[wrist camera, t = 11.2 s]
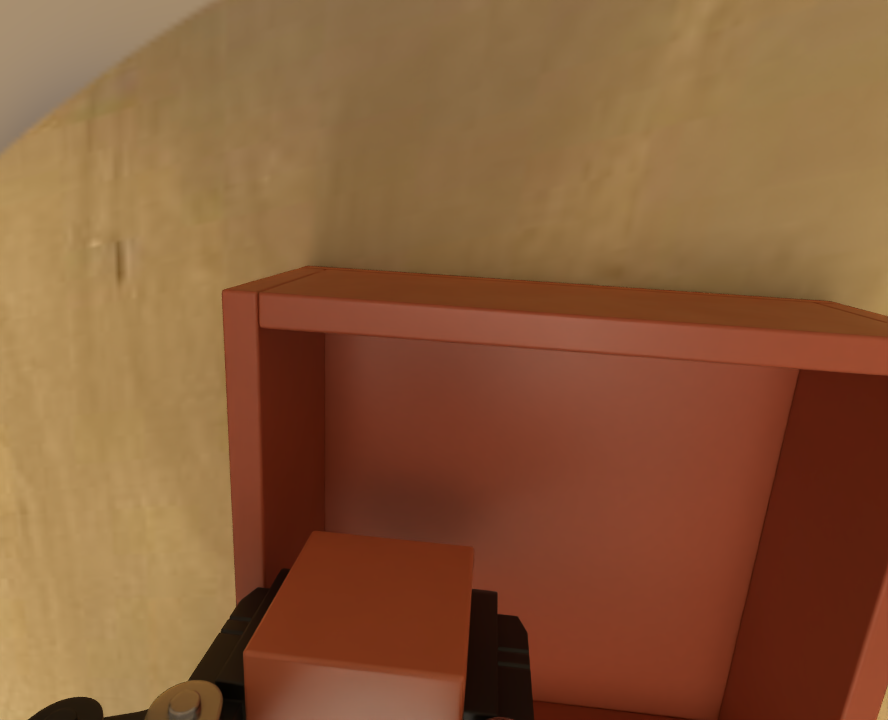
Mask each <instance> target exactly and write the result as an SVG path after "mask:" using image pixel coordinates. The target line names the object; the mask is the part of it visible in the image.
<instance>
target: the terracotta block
mask: <svg viewBox="0 0 888 720" xmlns="http://www.w3.org/2000/svg"><path fill="white" fill-rule="evenodd" d="M473 562H474V549H473V547H471V546H463V545H453V544H443V543H433V542H423V541H414V540H404V539H394V538H384V537H374V536H365V535H355V534H345V533H335V532H325V531H313V532H312V533H311V535H310V537H309V538H308V540H307V542H306V544H305V545H304V547H303V549H302V551H301V552H300V554H299V556H298V557H297V559H296V561H295V563H294V564H293V566H292V568H291V570H290V571H289V573H288V575H287V577H286V578H285V580H284V582H283V584H282V585H281V587H280V589H279V591H278V592H277V594H276V596H275V598H274V599H273V601H272V603H271V605H270V606H269V608H268V610H267V611H266V613H265V615H264V617H263V618H262V620H261V622H260V624H259V625H258V627H257V629H256V631H255V632H254V634H253V636H252V638H251V639H250V641H249V643H248V645H247V646H246V648H245V650H244V652H243V664H244V687H245V709H246V720H463V713H464V701H465V688H466V676H467V659H468V643H469V627H470V611H471V595H472V579H473Z"/></svg>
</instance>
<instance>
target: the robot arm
mask: <svg viewBox="0 0 888 720" xmlns="http://www.w3.org/2000/svg"><path fill="white" fill-rule="evenodd" d="M290 570H291V569H286V568H283V569H281V571H280V572H279V574H278V575H277V577H276V579H275V580H274V582H273V584H272V585H271V587H270V588H261V587H257V588H256V589H255V590H253V591H252V592H251V593H249V594H248V595H247V596H245V597H244V598H243V599H241V600H240V602H239V603H238V605H237V606H236V608H235V609H234V611H233V613H232V614H231V616H230V619H229V620H227V622H226V623H225V625H224V626H223V628H222V629H221V633H219V634H218V635H217V637H216V638H215V640H214V642H213V643H212V645H211V646H210V648H209V649H208V651H207V652H206V654H205V655H204V657H203V658H202V660H201V661H200V663H199V664H198V666H197V668H196V669H195V671H194V672H193V674H192V675H191V677H190V678H189V680H188V681H187V682H183V683H180V684H177V685H175V686H173V687H171V688H169V689H168V690H166V691H165V692H163V693H162V694H161V695H160V696H159V697H157V699H156V700H155V701H154V702H153V703H152V705H151V706H150V708H149V709H147V710H144V711H140V712H135V713H129V714H122V715H116V716H110V717H103V710H102V707H101V705H100V704H99V703H98V702H97V701H96V700H94V699H92V698H87V697H73V698H68V699H64V700H61V701H58V702H56V703H54V704H51V705H49V706H47V707H46V708H44V709H42V710H41V711H39V712H38V713H36V714H35V715H34V716H32V717H31V718H30V719H28V720H246V709H245V687H244V664H243V652H244V650H245V648H246V646H247V645H248V643H249V641H250V639H251V638H252V636H253V634H254V632H255V631H256V629H257V627H258V625H259V624H260V622H261V620H262V618H263V617H264V615H265V613H266V611H267V610H268V608H269V606H270V605H271V603H272V601H273V599H274V598H275V596H276V594H277V592H278V591H279V589H280V587H281V585H282V584H283V582H284V580H285V578H286V577H287V575H288V573H289V571H290ZM463 720H534V709H533V696H532V683H531V670H530V657H529V644H528V633H527V631H526V629H525V627H524V626H523V624H522V622H521V621H520V619H519V617H518V616H512V615H503V614H498V593H497V591H489V590H479V589H472V595H471V611H470V627H469V643H468V659H467V676H466V688H465V701H464V713H463Z"/></svg>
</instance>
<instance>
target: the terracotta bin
mask: <svg viewBox="0 0 888 720" xmlns="http://www.w3.org/2000/svg"><path fill="white" fill-rule="evenodd" d="M222 307H223V328H224V350H225V371H226V393H227V414H228V436H229V457H230V479H231V500H232V522H233V543H234V565H235V586H236V606H237V605H238V603H239V602H240V600H241V599H243V598H244V597H245V596H247V595H248V594H249V593H251V592H252V591H253V590H255V589H256V588H257V587H261V588H270V587H271V585H272V584H273V582H274V580H275V579H276V577H277V575H278V574H279V572H280V571H281V569H283V568H286V569H291V568H292V566H293V564H294V563H295V561H296V559H297V557H298V556H299V554H300V552H301V551H302V549H303V547H304V545H305V544H306V542H307V540H308V538H309V537H310V535H311V533H312V532H313V531H325V532H335V533H345V534H355V535H365V536H374V537H384V538H394V539H404V540H414V541H423V542H433V543H443V544H453V545H463V546H471V547H473V549H474V562H473V579H472V589H479V590H489V591H497V593H498V614H503V615H512V616H518V617H519V619H520V621H521V622H522V624H523V626H524V627H525V629H526V631H527V633H528V644H529V657H530V670H531V683H532V696H533V709H534V720H877V717H878V714H879V710H880V707H881V704H882V701H883V698H884V695H885V692H886V689H887V686H888V316H884V315H881V314H877V313H873V312H869V311H865V310H862V309H858V308H854V307H850V306H846V305H842V304H839V303H836V302H832V301H820V300H805V299H790V298H776V297H761V296H746V295H731V294H717V293H702V292H687V291H672V290H658V289H643V288H628V287H613V286H599V285H584V284H569V283H554V282H540V281H525V280H510V279H495V278H481V277H466V276H451V275H437V274H422V273H407V272H392V271H378V270H363V269H348V268H333V267H319V266H305V267H301V268H298V269H295V270H291V271H288V272H284V273H281V274H277V275H273V276H270V277H266V278H263V279H259V280H256V281H252V282H249V283H245V284H242V285H238V286H235V287H231V288H227V289H224V290H223V291H222Z"/></svg>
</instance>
